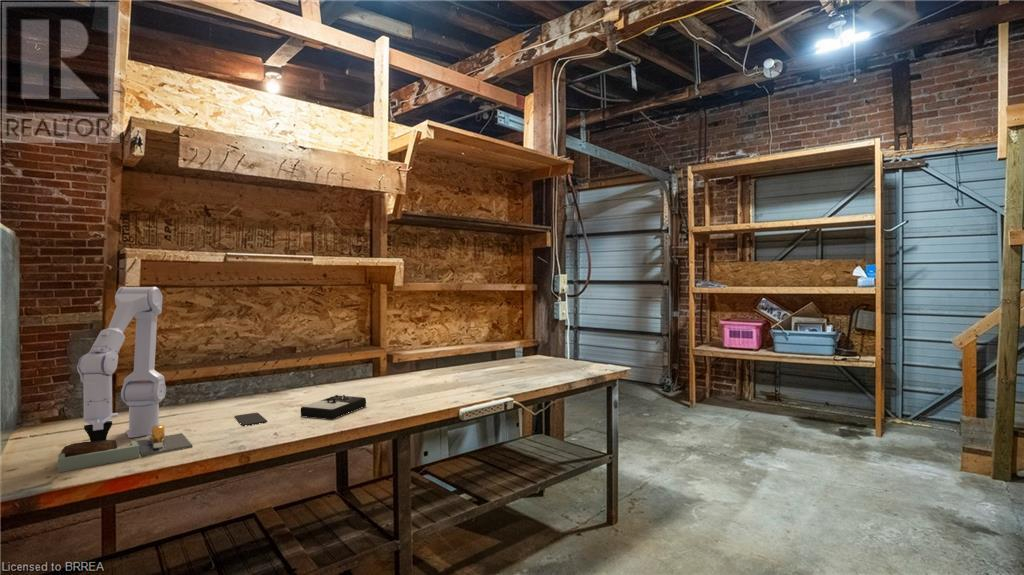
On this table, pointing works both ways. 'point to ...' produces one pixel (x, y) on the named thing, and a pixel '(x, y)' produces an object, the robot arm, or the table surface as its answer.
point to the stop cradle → (97, 457)
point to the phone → (250, 419)
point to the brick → (88, 447)
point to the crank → (156, 436)
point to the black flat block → (333, 406)
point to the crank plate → (164, 445)
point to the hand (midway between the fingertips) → (98, 451)
